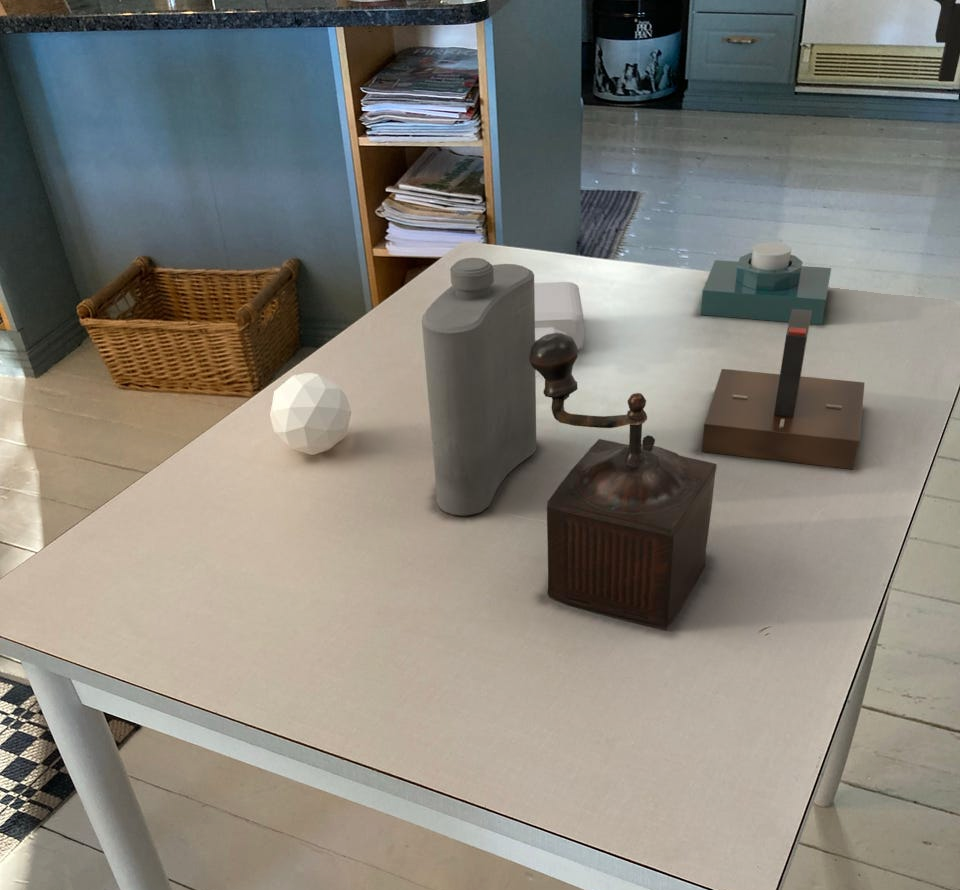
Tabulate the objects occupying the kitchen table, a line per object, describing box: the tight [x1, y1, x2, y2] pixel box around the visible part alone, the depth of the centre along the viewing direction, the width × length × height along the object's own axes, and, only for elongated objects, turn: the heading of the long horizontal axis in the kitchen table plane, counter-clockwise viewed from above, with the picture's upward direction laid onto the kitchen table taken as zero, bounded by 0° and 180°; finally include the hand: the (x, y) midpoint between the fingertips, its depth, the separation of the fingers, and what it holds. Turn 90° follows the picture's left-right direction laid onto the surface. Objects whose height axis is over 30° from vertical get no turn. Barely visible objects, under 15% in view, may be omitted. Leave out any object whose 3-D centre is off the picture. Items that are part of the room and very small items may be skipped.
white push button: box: [751, 241, 792, 270], centre depth 121 cm, size 4×4×2 cm
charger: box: [534, 281, 585, 351], centre depth 116 cm, size 5×9×15 cm
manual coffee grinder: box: [529, 333, 717, 631], centre depth 79 cm, size 16×11×18 cm
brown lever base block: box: [700, 368, 865, 470], centre depth 100 cm, size 14×12×3 cm
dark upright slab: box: [774, 309, 812, 417], centre depth 97 cm, size 6×2×8 cm, turn 162°
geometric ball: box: [269, 372, 352, 456], centre depth 100 cm, size 8×8×8 cm
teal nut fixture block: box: [699, 252, 832, 325], centre depth 123 cm, size 14×10×5 cm
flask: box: [421, 257, 537, 517], centre depth 91 cm, size 15×6×20 cm, turn 154°
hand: (945, 78), depth 107 cm, fingers closed
